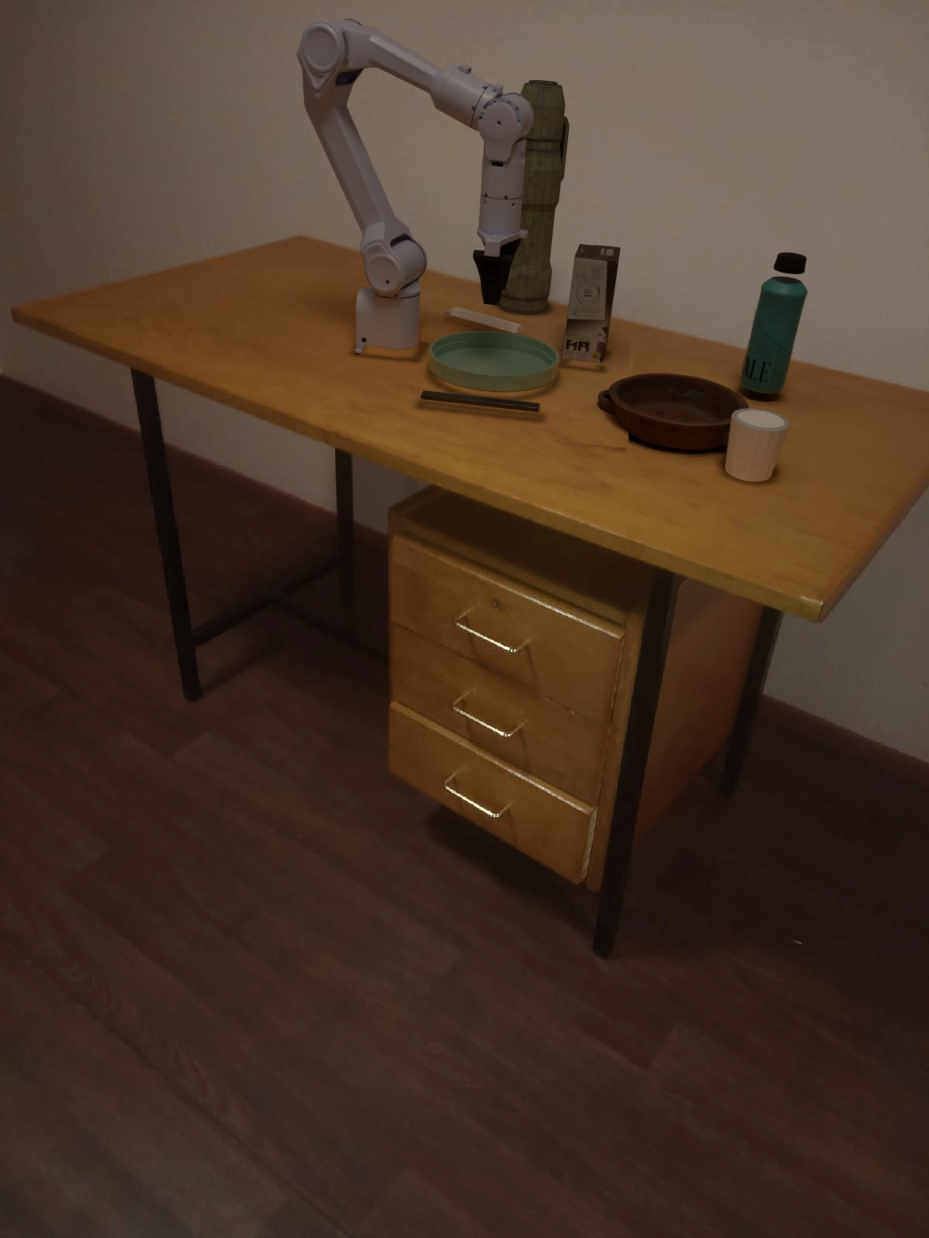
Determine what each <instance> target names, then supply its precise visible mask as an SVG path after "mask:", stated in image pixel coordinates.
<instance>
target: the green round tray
mask: <svg viewBox="0 0 929 1238" xmlns="http://www.w3.org/2000/svg"><path fill="white" fill-rule="evenodd" d="M427 354H428V355H427V364H428V369H429V370H430V372H432V374H433V375H434V376H435V377H437V378H439V379H441V380H443V381H445V382H447V383H449V384H452V385H455V386H458V387H462V388H467V389H472V390H478V391H487V392H501V393H502V392H506V393H513V392H523V391H528V390H535V389H538V388H542V387H544V386H546V385H548V384H551V383H552V382H553V381H554V380H556V378H557V376H558V371H559V363H560V355H559V352H558V351H557V349H555V348H554V347H552V346H551V345H550V344H548V343H547V342H543V341H542V340H540V339H537V338H533V337H530V336H527V335H523V334H517V333H513V332H507V331H506V332H505V331H496V330H473V331H472V330H470V331H461V332H455V333H450V334H446V335H443V336H441V337H438V338H436V339H435V340H433V341H432V342H431V343H430V344H429V347H428V352H427Z"/></svg>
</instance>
